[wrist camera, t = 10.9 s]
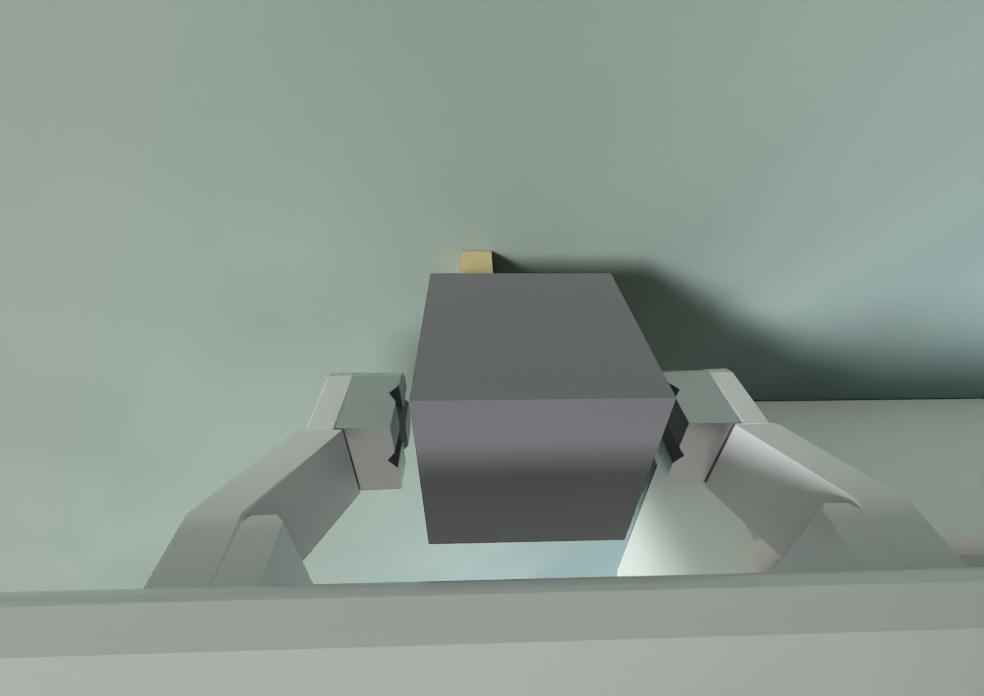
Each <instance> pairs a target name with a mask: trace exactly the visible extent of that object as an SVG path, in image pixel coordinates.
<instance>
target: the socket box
mask: <svg viewBox="0 0 984 696" xmlns="http://www.w3.org/2000/svg"><path fill="white" fill-rule="evenodd" d="M755 404H756V405H757V407H758V408H759V409H760V411H761V412H762V413H763V415H764V416H765V418H766V419H767V420H768V422H769V423H778V424H779V425H781V426H783V427H785V428H786V429H788V430H790V431H791V432H793V433H795V434H797V435H798V436H800V437H802V438H803V439H805V440H807V441H808V442H810V443H812V444H814V445H815V446H817V447H819V448H820V449H822V450H824V451H826V452H827V453H829V454H831V455H832V456H834V457H836V458H837V459H839V460H841V461H843V462H844V463H846V464H848V465H849V466H851V467H853V468H855V469H856V470H858V471H860V472H861V473H863V474H865V475H866V476H868V477H870V478H872V479H873V480H875V481H877V482H878V483H880V484H882V485H884V486H885V487H887V488H889V489H890V490H892V491H894V492H895V493H897V494H899V495H901V496H902V497H904V498H906V499H907V500H909V501H910V502H911V503H912V505H913V506H914V507H915V508H916V509H917V510H918V511H919V512H920V514H921V515H922V516H923V517H924V518H925V519H926V520H927V521H928V523H929V524H930V525H931V526H932V527H933V528H934V529H935V530H936V532H937V533H938V534H939V535H940V536H941V537H942V538H943V539H944V541H945V542H946V543H947V544H948V545H949V546H950V547H951V548H952V550H953V551H954V552H955V553H956V554H957V555H958V556H959V557H960V559H961V560H962V561H963V562H964V563H965V564H966V565H967V567H984V399H927V400H844V401H761V402H755ZM781 558H782V557H781V556H780V555H779V554H777V553H776V552H775V551H774V550H773V549H772V548H771V547H770V546H769V545H768V544H767V543H766V542H765V541H763V540H762V539H761V538H760V537H759V536H758V535H757V534H756V533H755V532H754V531H753V530H752V529H751V528H750V527H748V526H747V525H746V524H745V523H744V522H743V521H742V520H741V519H740V518H739V517H738V516H737V515H736V514H734V513H733V512H732V511H731V510H730V509H729V508H728V507H727V506H726V505H725V504H724V503H723V502H722V501H721V500H719V499H718V498H717V497H716V496H715V495H714V494H713V493H712V492H711V491H710V490H709V489H708V488H707V487H705V484H665V483H664V480H663V478H662V476H661V473H660V471H659V468H658V466H657V467H656V470H655V473H654V475H653V478H652V481H651V483H650V486H649V489H648V491H647V494H646V497H645V499H644V502H643V504H642V507H641V510H640V512H639V515H638V518H637V520H636V523H635V526H634V528H633V531H632V534H631V536H630V539H629V542H628V544H627V547H626V549H625V552H624V555H623V557H622V560H621V563H620V565H619V568H618V571H617V576H656V575H695V574H733V573H770V572H771V571H772V570H773V569H774V567H775V566H776V565H777V564H778V562H779V561H780V560H781Z"/></svg>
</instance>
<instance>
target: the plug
mask: <svg viewBox="0 0 984 696" xmlns="http://www.w3.org/2000/svg"><path fill="white" fill-rule="evenodd" d="M675 400H676V397H675V395H674V393H673V391H672V389H671V387H670V385H669V383H668V381H667V379H666V377H665V375H664V374H663V372H662V370H661V368H660V366H659V364H658V362H657V360H656V358H655V356H654V354H653V353H652V351H651V349H650V347H649V345H648V343H647V341H646V339H645V337H644V335H643V333H642V331H641V330H640V328H639V326H638V324H637V322H636V320H635V318H634V316H633V314H632V312H631V310H630V309H629V307H628V305H627V303H626V301H625V299H624V297H623V295H622V293H621V291H620V289H619V288H618V286H617V284H616V282H615V280H614V278H613V276H612V274H611V273H493V267H492V253H491V251H461V257H460V273H446V274H431V275H430V281H429V287H428V293H427V298H426V304H425V310H424V316H423V322H422V328H421V334H420V340H419V346H418V352H417V358H416V364H415V370H414V376H413V382H412V388H411V394H410V400H409V403H410V410H411V417H412V425H413V432H414V439H415V446H416V454H417V461H418V468H419V476H420V483H421V490H422V498H423V505H424V512H425V519H426V527H427V534H428V541H429V544H453V543H498V542H542V541H586V540H624V539H625V537H626V534H627V531H628V528H629V526H630V523H631V520H632V517H633V515H634V512H635V509H636V507H637V504H638V501H639V498H640V496H641V493H642V490H643V487H644V485H645V482H646V479H647V476H648V474H649V471H650V468H651V465H652V463H653V460H654V457H655V455H656V452H657V449H658V446H659V444H660V441H661V438H662V435H663V433H664V430H665V427H666V424H667V422H668V419H669V416H670V414H671V411H672V408H673V405H674V403H675Z"/></svg>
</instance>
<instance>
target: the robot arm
mask: <svg viewBox="0 0 984 696" xmlns="http://www.w3.org/2000/svg"><path fill="white" fill-rule="evenodd" d="M662 372H663V374H664V375H665V377H666V379H667V381H668V383H669V385H670V387H671V389H672V391H673V393H674V395H675V397H676V400H675V403H674V405H673V408H672V411H671V414H670V416H669V419H668V422H667V424H666V427H665V430H664V433H663V435H662V438H661V441H660V444H659V446H658V449H657V452H656V455H655V457H654V459H655V461H656V463H657V466H658V468H659V471H660V473H661V476H662V478H663V480H664V483H665V484H705V487H707V488H708V489H709V490H710V491H711V492H712V493H713V494H714V495H715V496H716V497H717V498H718V499H719V500H721V501H722V502H723V503H724V504H725V505H726V506H727V507H728V508H729V509H730V510H731V511H732V512H733V513H734V514H736V515H737V516H738V517H739V518H740V519H741V520H742V521H743V522H744V523H745V524H746V525H747V526H748V527H750V528H751V529H752V530H753V531H754V532H755V533H756V534H757V535H758V536H759V537H760V538H761V539H762V540H763V541H765V542H766V543H767V544H768V545H769V546H770V547H771V548H772V549H773V550H774V551H775V552H776V553H777V554H779V555H780V556H781V557H782V558H781V560H780V561H779V562H778V564H777V565H776V566H775V567H774V569H773V570H772V571H771V572H770V573H733V574H695V575H656V576H617V577H579V578H542V579H504V580H467V581H428V582H388V583H349V584H313V583H312V581H311V578H310V576H309V574H308V572H307V570H306V568H305V566H304V564H303V562H302V561H303V560H304V559H305V558H306V557H307V555H308V554H309V553H310V552H311V551H312V549H313V548H314V547H315V546H316V545H317V543H318V542H319V541H320V540H321V539H322V538H323V536H324V535H325V534H326V533H327V532H328V530H329V529H330V528H331V527H332V526H333V524H334V523H335V522H336V521H337V520H338V518H339V517H340V516H341V515H342V514H343V513H344V511H345V510H346V509H347V508H348V507H349V505H350V504H351V503H352V502H353V501H354V499H355V498H356V497H357V496H358V495H359V493H360V490H382V489H401V488H402V481H403V475H404V469H405V463H406V461H405V455H404V449H405V448H406V447H407V446H408V443H409V436H410V408H409V402H407V401H406V400H405V394H406V388H407V387H406V381H405V376H404V374H403V373H331V374H330V375H329V376H328V377H327V379H326V381H325V384H324V386H323V389H322V391H321V394H320V396H319V398H318V401H317V403H316V406H315V408H314V411H313V413H312V415H311V418H310V420H309V423H308V425H307V428H306V430H298V431H296V432H295V433H294V434H292V435H291V436H290V437H288V438H287V439H286V440H284V441H283V442H282V443H280V444H279V445H278V446H276V447H275V448H274V449H273V450H271V451H270V452H269V453H267V454H266V455H265V456H263V457H262V458H261V459H259V460H258V461H257V462H255V463H254V464H253V465H251V466H250V467H249V468H247V469H246V470H245V471H243V472H242V473H241V474H239V475H238V476H237V477H235V478H234V479H233V480H231V481H230V482H229V483H227V484H226V485H225V486H223V487H222V488H221V489H219V490H218V491H217V492H216V493H214V494H213V495H212V496H210V497H209V498H208V499H206V500H205V501H204V502H202V503H201V504H200V505H198V506H197V507H196V508H194V509H193V510H192V511H190V512H189V513H188V514H187V515H186V516H185V518H184V520H183V522H182V523H181V525H180V527H179V528H178V530H177V532H176V534H175V535H174V537H173V539H172V540H171V542H170V544H169V546H168V547H167V549H166V551H165V553H164V554H163V556H162V558H161V559H160V561H159V563H158V565H157V566H156V568H155V570H154V571H153V573H152V575H151V577H150V578H149V580H148V582H147V584H146V585H145V587H144V589H111V590H71V591H30V592H0V696H984V567H967V565H966V564H965V563H964V562H963V561H962V560H961V559H960V557H959V556H958V555H957V554H956V553H955V552H954V551H953V550H952V548H951V547H950V546H949V545H948V544H947V543H946V542H945V541H944V539H943V538H942V537H941V536H940V535H939V534H938V533H937V532H936V530H935V529H934V528H933V527H932V526H931V525H930V524H929V523H928V521H927V520H926V519H925V518H924V517H923V516H922V515H921V514H920V512H919V511H918V510H917V509H916V508H915V507H914V506H913V505H912V503H911V502H910V501H909V500H907V499H906V498H904V497H902V496H901V495H899V494H897V493H895V492H894V491H892V490H890V489H889V488H887V487H885V486H884V485H882V484H880V483H878V482H877V481H875V480H873V479H872V478H870V477H868V476H866V475H865V474H863V473H861V472H860V471H858V470H856V469H855V468H853V467H851V466H849V465H848V464H846V463H844V462H843V461H841V460H839V459H837V458H836V457H834V456H832V455H831V454H829V453H827V452H826V451H824V450H822V449H820V448H819V447H817V446H815V445H814V444H812V443H810V442H808V441H807V440H805V439H803V438H802V437H800V436H798V435H797V434H795V433H793V432H791V431H790V430H788V429H786V428H785V427H783V426H781V425H779V424H778V423H769V422H768V420H767V419H766V418H765V416H764V415H763V413H762V412H761V411H760V409H759V408H758V407H757V405H756V404H755V402H754V401H753V400H752V398H751V397H750V396H749V394H748V393H747V391H746V390H745V389H744V387H743V386H742V385H741V383H740V382H739V380H738V379H737V378H736V376H735V375H734V374H733V372H732V371H730V370H728V369H727V368H723V369H703V370H662Z"/></svg>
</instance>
